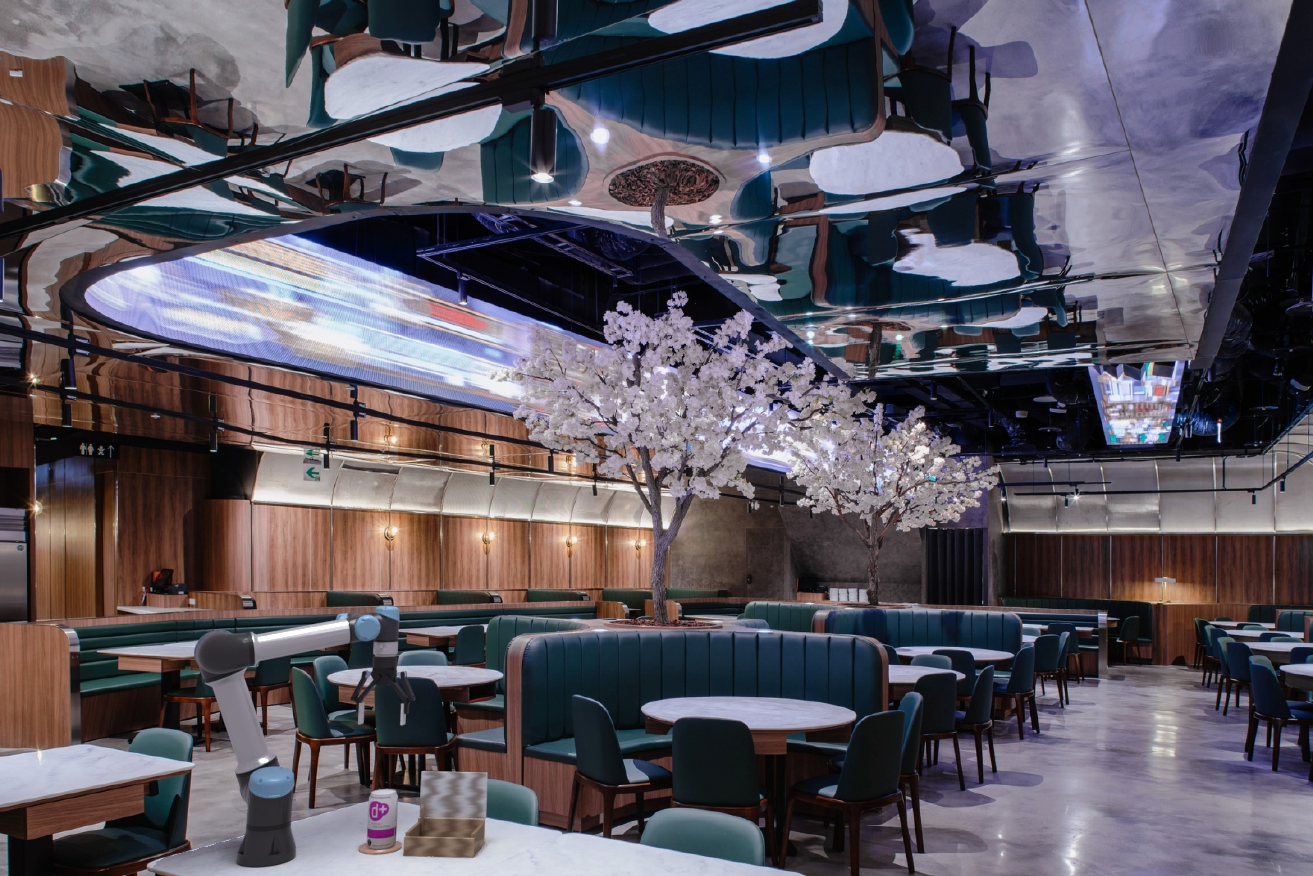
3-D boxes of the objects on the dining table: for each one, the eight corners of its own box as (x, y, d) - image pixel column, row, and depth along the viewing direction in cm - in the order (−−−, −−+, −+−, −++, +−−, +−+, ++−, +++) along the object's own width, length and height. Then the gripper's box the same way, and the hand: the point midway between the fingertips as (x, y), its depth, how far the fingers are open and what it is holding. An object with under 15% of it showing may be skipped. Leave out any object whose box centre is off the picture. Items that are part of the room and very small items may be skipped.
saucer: (352, 854, 253) (352, 851, 254) (367, 841, 265) (368, 839, 265) (393, 855, 253) (393, 853, 253) (407, 842, 265) (407, 840, 265)
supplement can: (386, 851, 254) (389, 796, 257) (360, 849, 256) (363, 794, 258) (401, 843, 262) (403, 789, 264) (375, 841, 264) (378, 788, 266)
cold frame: (403, 856, 252) (406, 782, 255) (419, 841, 266) (422, 771, 269) (472, 857, 251) (475, 783, 254) (485, 843, 265) (487, 772, 268)
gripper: (342, 656, 282) (338, 725, 279) (419, 657, 281) (416, 726, 278) (351, 654, 290) (347, 721, 286) (427, 654, 288) (424, 723, 285)
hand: (381, 724), depth 282 cm, fingers open, 13 cm apart
